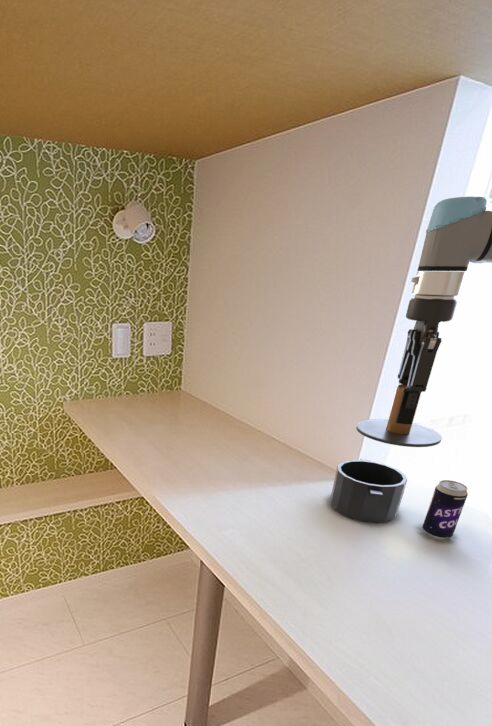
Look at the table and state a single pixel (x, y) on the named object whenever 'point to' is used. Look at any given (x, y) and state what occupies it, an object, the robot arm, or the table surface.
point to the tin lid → (398, 428)
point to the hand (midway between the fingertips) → (401, 419)
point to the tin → (367, 491)
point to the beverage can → (445, 509)
